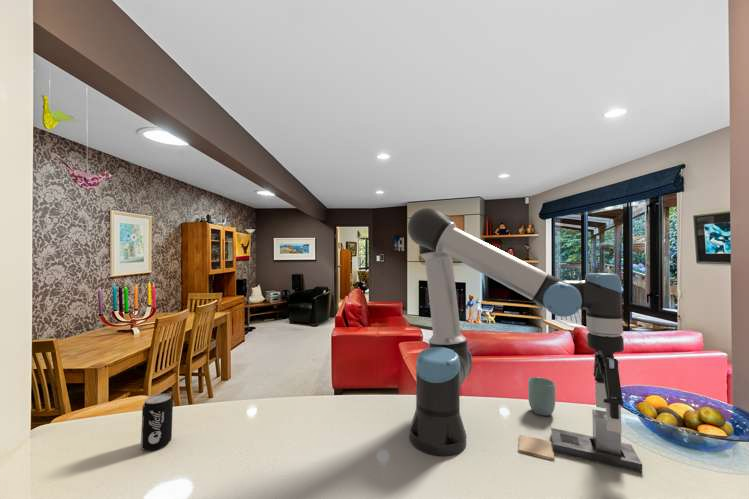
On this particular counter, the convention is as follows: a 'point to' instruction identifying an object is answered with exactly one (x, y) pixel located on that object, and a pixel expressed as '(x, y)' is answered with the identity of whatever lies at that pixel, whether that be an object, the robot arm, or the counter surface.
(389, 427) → the counter surface
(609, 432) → the steel peg
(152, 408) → the beverage can
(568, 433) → the grey recessed tray
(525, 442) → the cork pad
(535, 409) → the cup
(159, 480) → the counter surface
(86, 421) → the counter surface
